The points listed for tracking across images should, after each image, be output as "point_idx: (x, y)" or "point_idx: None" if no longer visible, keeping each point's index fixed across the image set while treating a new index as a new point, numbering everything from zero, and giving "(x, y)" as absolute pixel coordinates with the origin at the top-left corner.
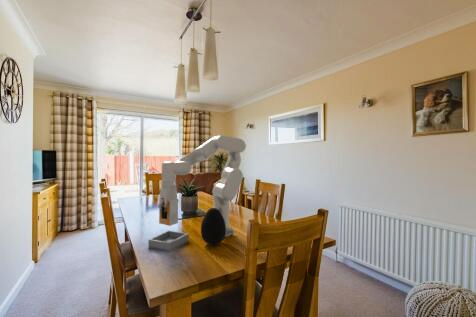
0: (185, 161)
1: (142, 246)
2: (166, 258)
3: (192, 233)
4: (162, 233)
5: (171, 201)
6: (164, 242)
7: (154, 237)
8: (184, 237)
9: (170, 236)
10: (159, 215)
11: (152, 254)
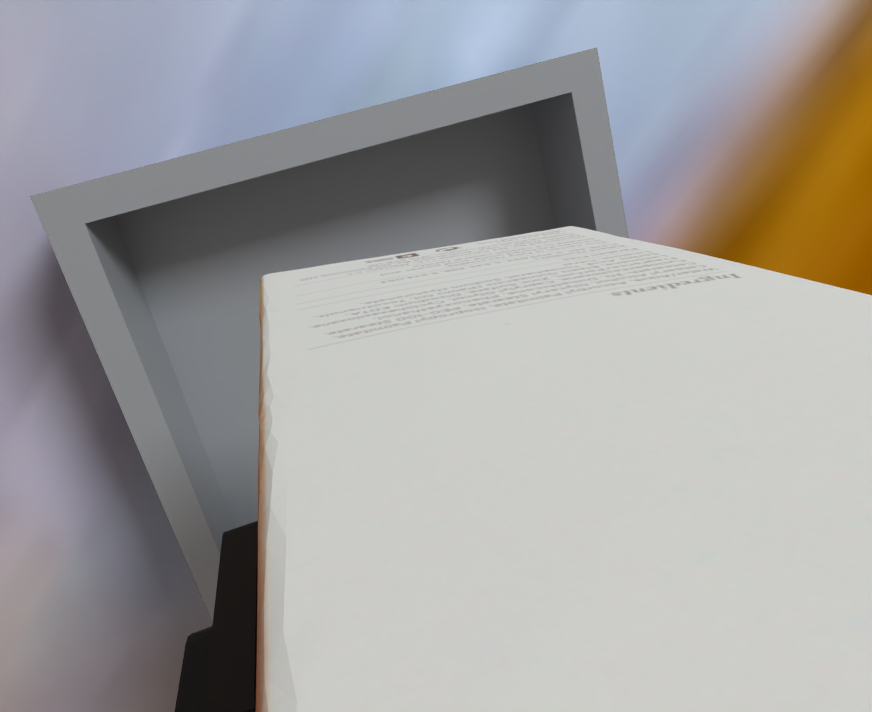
0: None
1: (30, 27)
2: (92, 670)
3: (856, 215)
4: (416, 107)
5: None
6: (178, 535)
7: (182, 182)
8: None
9: (542, 139)
10: (261, 343)
11: (10, 446)
